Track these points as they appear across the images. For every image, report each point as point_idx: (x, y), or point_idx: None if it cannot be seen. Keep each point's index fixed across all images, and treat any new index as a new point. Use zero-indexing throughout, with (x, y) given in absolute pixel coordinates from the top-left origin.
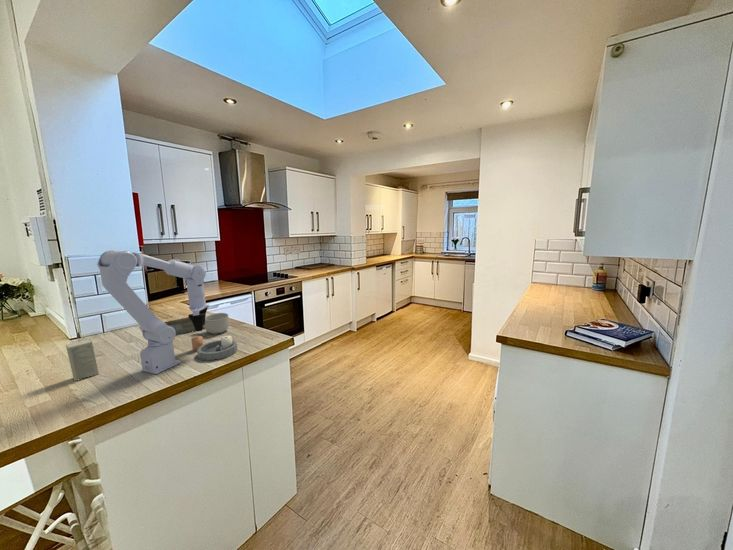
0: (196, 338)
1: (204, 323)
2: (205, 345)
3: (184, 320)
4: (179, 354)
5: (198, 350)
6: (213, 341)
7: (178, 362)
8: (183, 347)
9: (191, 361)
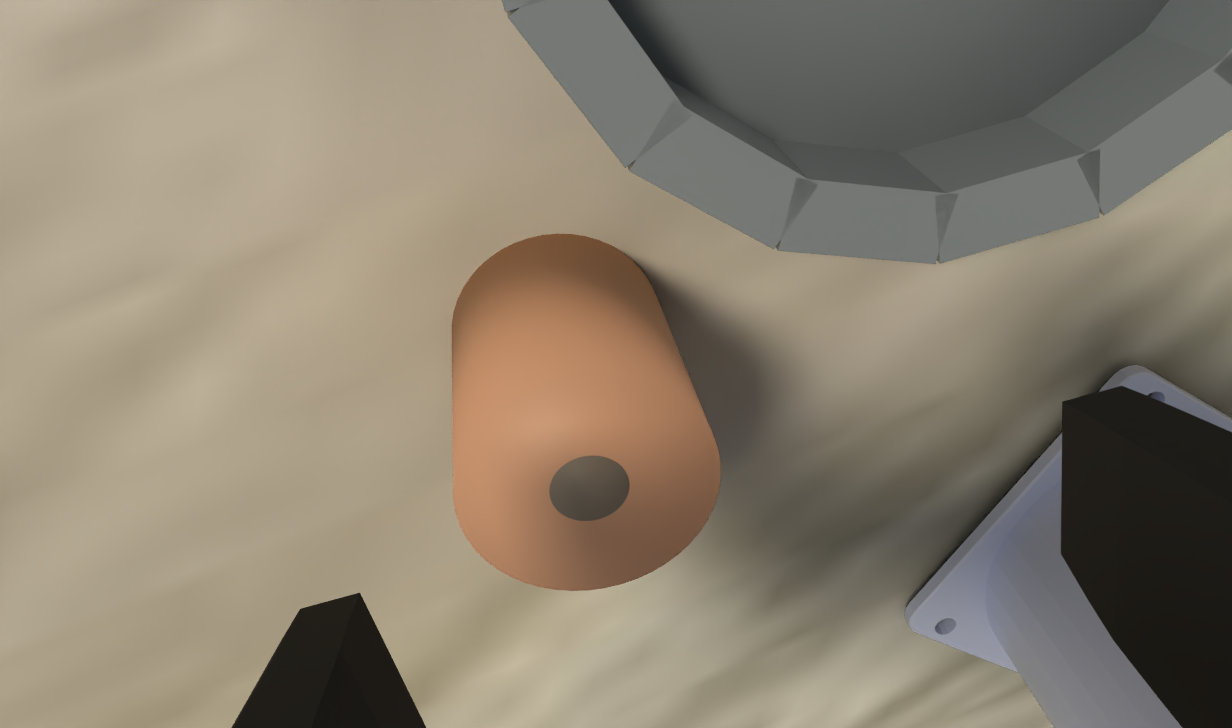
0: (628, 483)
1: (353, 632)
2: (778, 162)
3: None
4: (724, 545)
5: (1097, 194)
6: (561, 34)
7: (1171, 394)
8: (396, 627)
9: (1144, 215)
